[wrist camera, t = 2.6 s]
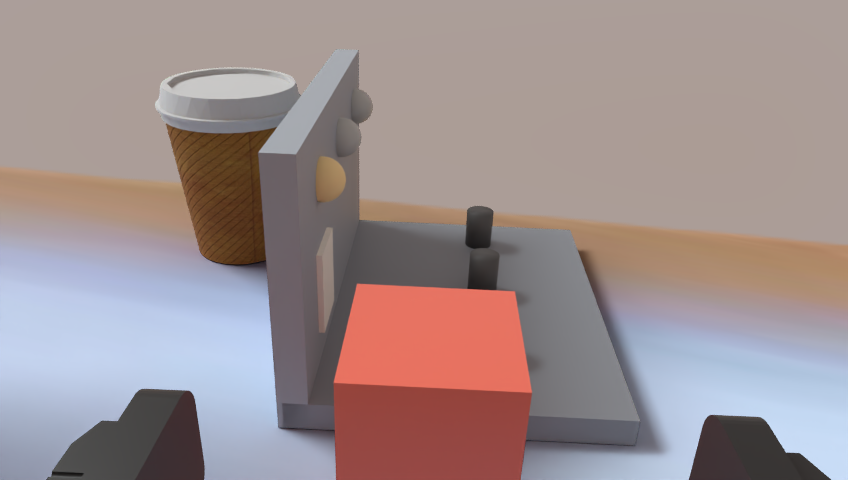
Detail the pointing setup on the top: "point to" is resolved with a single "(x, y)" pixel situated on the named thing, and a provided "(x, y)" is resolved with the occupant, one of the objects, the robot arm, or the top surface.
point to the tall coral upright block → (431, 386)
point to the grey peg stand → (416, 275)
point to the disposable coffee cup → (225, 151)
